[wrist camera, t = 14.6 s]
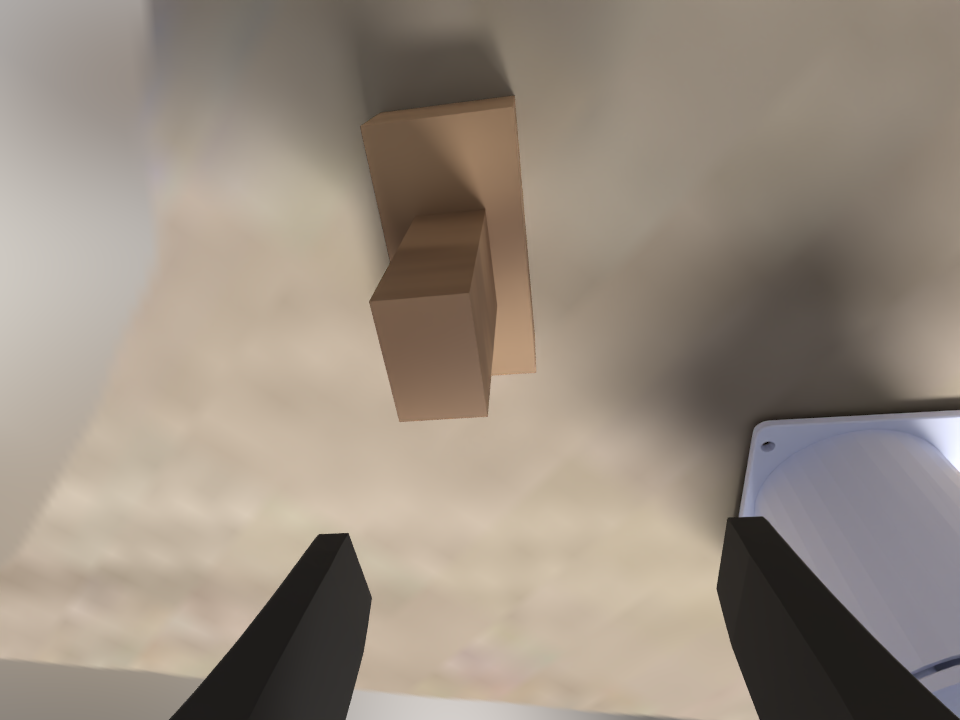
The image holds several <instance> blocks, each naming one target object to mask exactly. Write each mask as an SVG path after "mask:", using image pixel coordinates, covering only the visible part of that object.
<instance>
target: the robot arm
mask: <svg viewBox="0 0 960 720" xmlns="http://www.w3.org/2000/svg"><path fill="white" fill-rule="evenodd" d="M769 441H770V443H768V444H767V445H762V444H764V443H765V442H769ZM717 592H718V596H719V600H720V604H721V608H722V612H723V616H724V620H725V623H726V627H727V631H728V634H729V638H730V642H731V645H732V648H733V651H734V653H735V656H736V659H737V661H738V664H739V667H740V669H741V672H742V675H743V677H744V680H745V683H746V685H747V688H748V690H749V693H750V696H751V698H752V701H753V704H754V706H755V709H756V711H757V714H758V716H759V719H760V720H960V410H951V411H933V412H915V413H896V414H878V415H860V416H842V417H823V418H805V419H787V420H769V421H764V422H761V423H759V424H758V425H757V426H756V427H755V428H754V430H753V434H752V440H751V446H750V452H749V458H748V464H747V470H746V476H745V482H744V488H743V494H742V500H741V506H740V512H739V517H733V518H728V519H727V525H726V531H725V538H724V544H723V550H722V557H721V563H720V570H719V576H718V582H717ZM371 600H372V597H371V594H370V591H369V588H368V586H367V583H366V580H365V577H364V575H363V572H362V569H361V566H360V564H359V561H358V558H357V555H356V553H355V550H354V547H353V544H352V542H351V539H350V536H349V533H339V534H319V535H318V536H317V537H316V538H315V539H314V541H313V542H312V543H311V545H310V546H309V547H308V549H307V550H306V551H305V553H304V554H303V556H302V557H301V558H300V560H299V561H298V562H297V564H296V565H295V566H294V568H293V569H292V570H291V572H290V573H289V574H288V576H287V577H286V579H285V580H284V581H283V583H282V584H281V585H280V587H279V588H278V589H277V591H276V592H275V593H274V594H273V596H272V597H271V598H270V600H269V601H268V602H267V604H266V605H265V606H264V608H263V609H262V610H261V611H260V613H259V614H258V615H257V616H256V618H255V619H254V620H253V622H252V623H251V624H250V625H249V627H248V628H247V629H246V631H245V632H244V633H243V634H242V636H241V637H240V638H239V639H238V641H237V642H236V643H235V644H234V646H233V647H232V648H231V649H230V650H229V652H228V653H227V654H226V655H225V656H224V657H223V659H222V660H221V661H220V662H219V663H218V665H217V666H216V667H215V668H214V669H213V670H212V672H211V673H210V674H209V675H208V676H207V678H206V679H205V680H204V681H203V682H202V684H201V685H200V686H199V687H198V688H197V689H196V690H195V692H194V693H193V694H192V695H191V696H190V697H189V698H188V699H187V701H186V702H185V703H184V704H183V705H182V706H181V707H180V709H178V711H177V712H176V713H175V714H174V715H173V716H172V717H171V718H170V719H169V720H346V716H347V712H348V709H349V705H350V701H351V698H352V694H353V690H354V687H355V683H356V679H357V675H358V671H359V668H360V664H361V660H362V656H363V652H364V646H365V640H366V634H367V628H368V621H369V614H370V607H371Z"/></svg>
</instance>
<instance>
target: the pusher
mask: <svg viewBox="0 0 960 720" xmlns="http://www.w3.org/2000/svg"><path fill="white" fill-rule="evenodd" d="M360 128H361V133H362V137H363V142H364V146H365V151H366V155H367V160H368V164H369V169H370V173H371V178H372V182H373V187H374V191H375V196H376V200H377V205H378V209H379V214H380V219H381V223H382V228H383V232H384V237H385V241H386V246H387V250H388V255H389V259H390V264H389V266H388V268H387V270H386V272H385V273H384V275H383V277H382V279H381V281H380V283H379V284H378V286H377V288H376V290H375V292H374V294H373V296H372V297H371V299H370V301H369V303H370V307H371V311H372V315H373V319H374V323H375V327H376V331H377V335H378V339H379V343H380V347H381V351H382V354H383V358H384V362H385V366H386V370H387V374H388V378H389V382H390V386H391V390H392V394H393V398H394V402H395V406H396V410H397V414H398V418H399V422H406V421H423V420H439V419H456V418H473V417H488V406H489V395H490V383H491V376H493V375H507V374H522V373H536V357H535V333H534V322H533V310H532V298H531V286H530V274H529V262H528V250H527V238H526V226H525V215H524V203H523V191H522V179H521V167H520V155H519V143H518V131H517V119H516V108H515V96H506V97H498V98H491V99H483V100H475V101H467V102H460V103H452V104H444V105H437V106H429V107H421V108H413V109H406V110H398V111H390V112H383V113H379V114H378V115H376V116H375V117H373V118H372V119H370V120H369V121H367V122H366V123H364V124H363V125H361V126H360Z"/></svg>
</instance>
